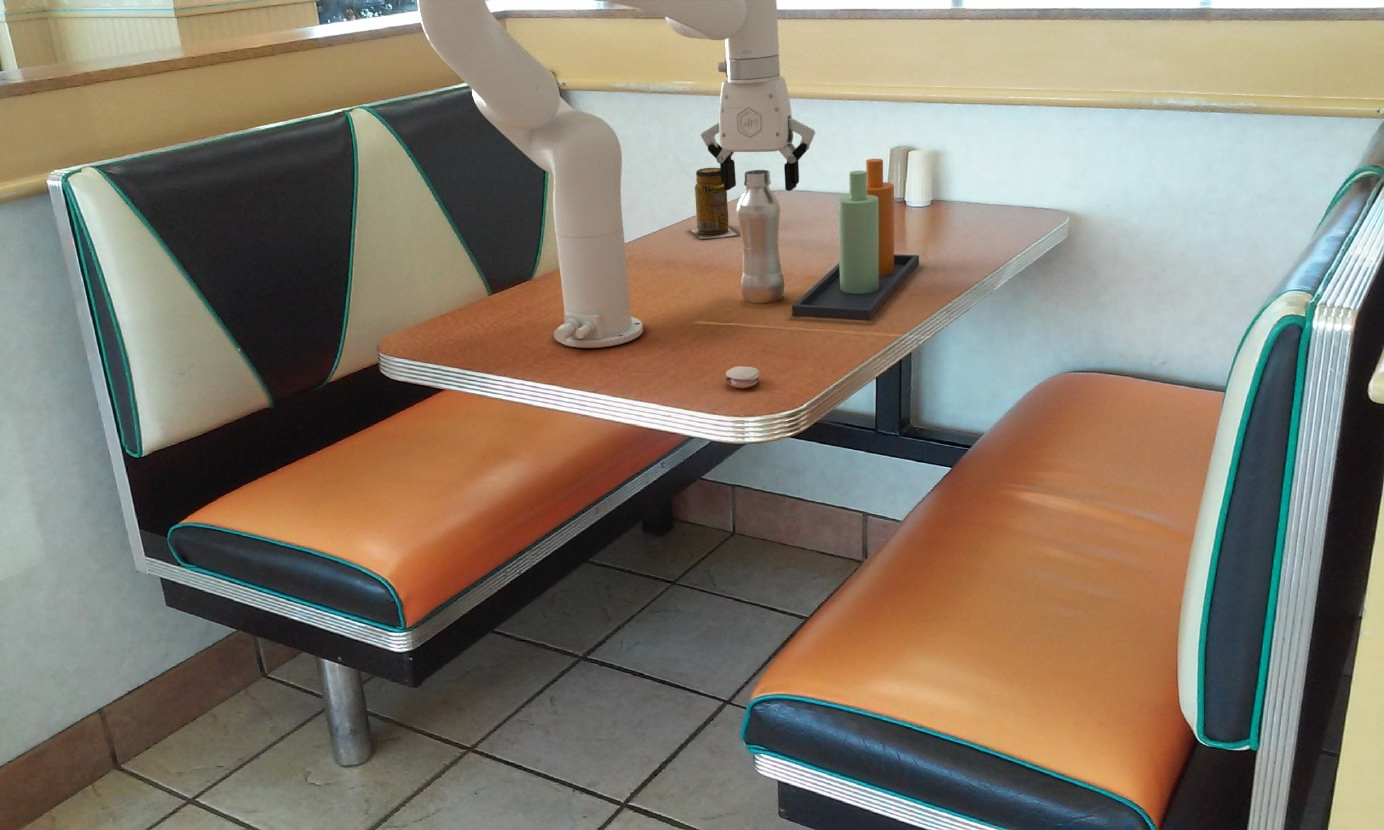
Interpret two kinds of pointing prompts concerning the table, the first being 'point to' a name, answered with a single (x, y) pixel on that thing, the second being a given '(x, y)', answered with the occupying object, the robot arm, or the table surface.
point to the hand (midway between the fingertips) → (760, 188)
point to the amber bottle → (882, 214)
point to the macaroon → (742, 376)
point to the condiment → (711, 205)
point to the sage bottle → (858, 237)
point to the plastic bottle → (760, 240)
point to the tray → (842, 305)
